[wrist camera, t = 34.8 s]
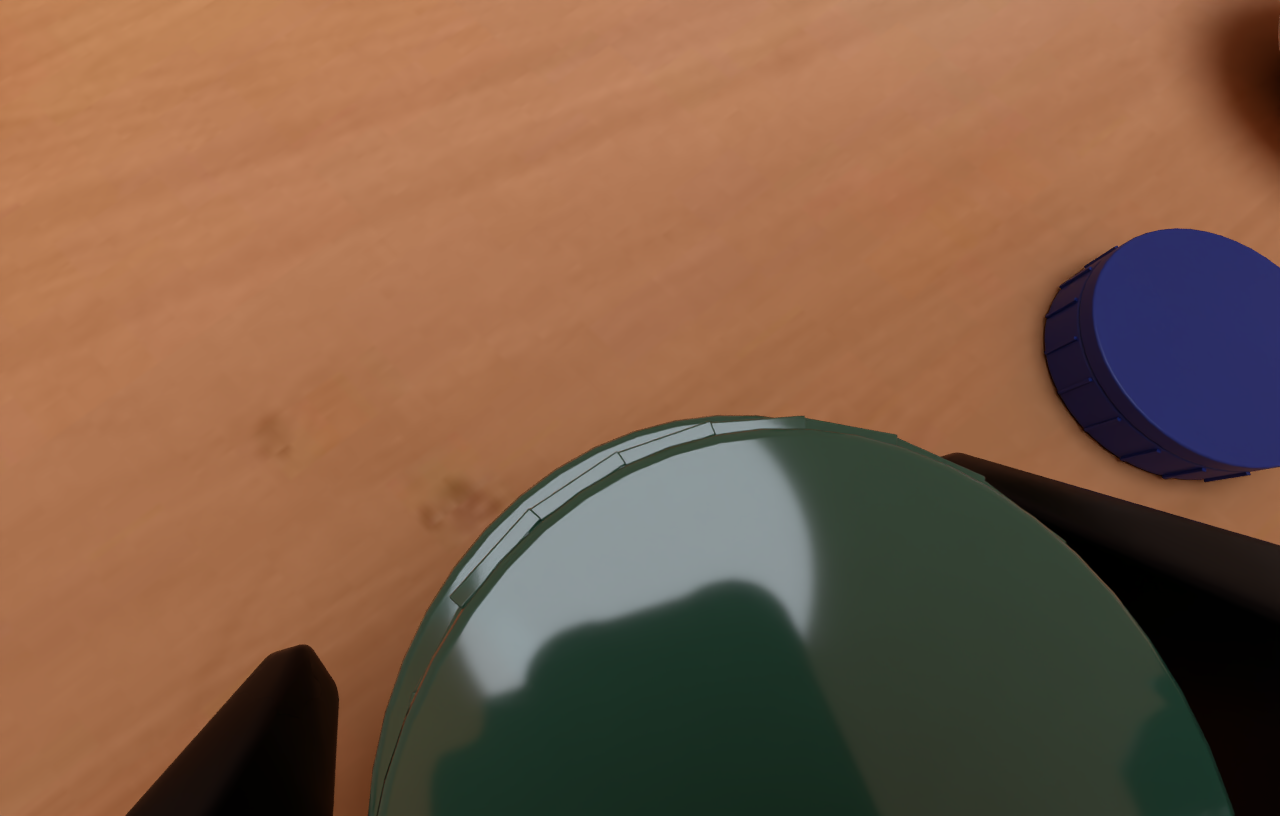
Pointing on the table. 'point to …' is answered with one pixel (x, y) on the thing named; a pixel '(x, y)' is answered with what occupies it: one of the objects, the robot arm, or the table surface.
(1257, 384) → the lid
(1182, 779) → the jar
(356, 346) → the table surface
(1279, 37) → the ornament
